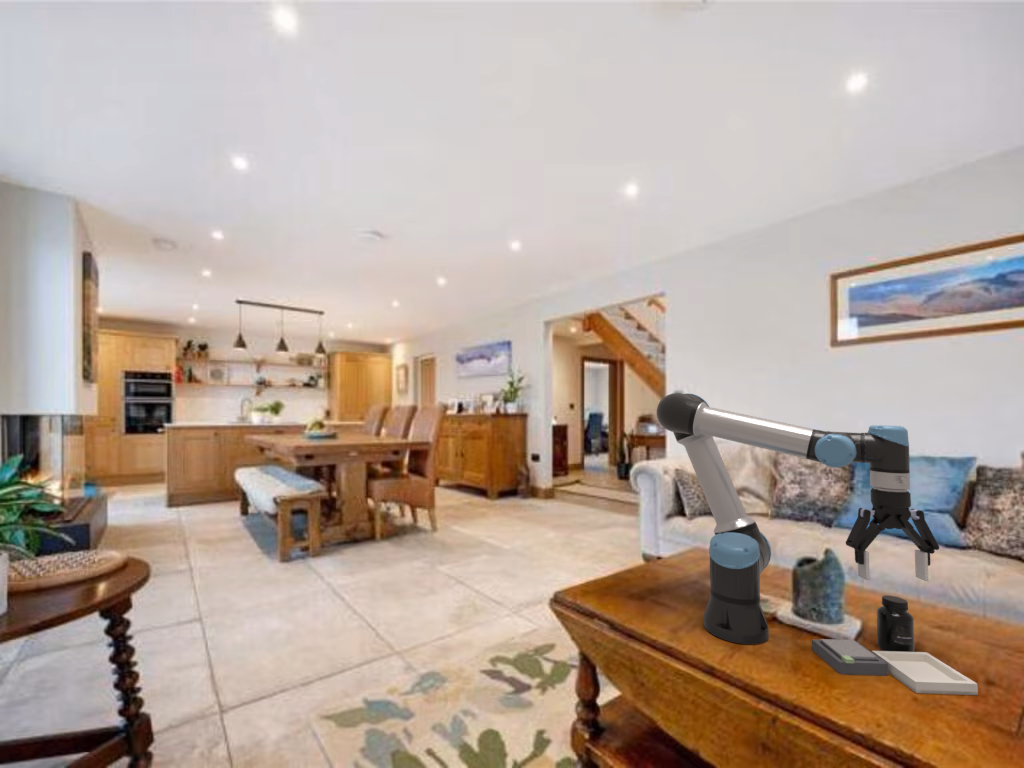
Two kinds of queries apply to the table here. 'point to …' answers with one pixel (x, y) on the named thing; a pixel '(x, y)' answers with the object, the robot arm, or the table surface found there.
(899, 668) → the dish
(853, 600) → the table surface
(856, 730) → the table surface
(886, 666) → the grey square framed panel
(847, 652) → the grey square tile
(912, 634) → the supplement bottle
